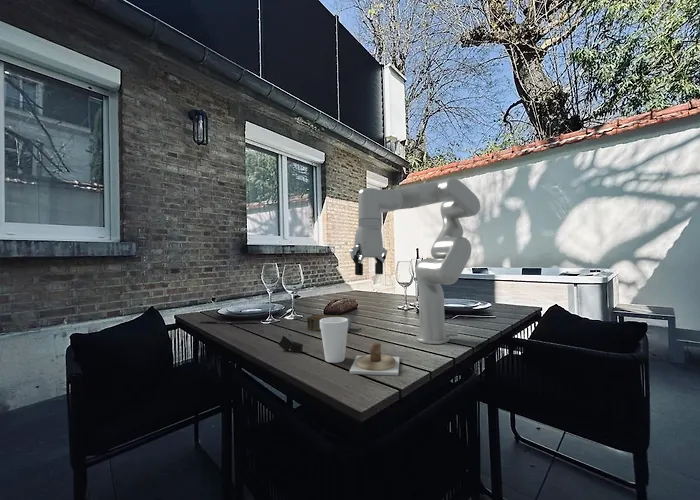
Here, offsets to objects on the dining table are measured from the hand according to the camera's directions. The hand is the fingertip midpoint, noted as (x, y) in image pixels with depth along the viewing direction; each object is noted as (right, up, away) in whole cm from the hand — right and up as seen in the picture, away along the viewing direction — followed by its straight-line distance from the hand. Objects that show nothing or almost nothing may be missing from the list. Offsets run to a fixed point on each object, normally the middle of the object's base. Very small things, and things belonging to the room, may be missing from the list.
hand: (369, 274), depth 114 cm
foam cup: (-12, -28, -5) cm, 30 cm away
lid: (+1, -26, -12) cm, 29 cm away
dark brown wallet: (-28, -28, +6) cm, 40 cm away
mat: (+1, -27, -12) cm, 30 cm away
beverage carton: (-16, -28, +38) cm, 50 cm away
